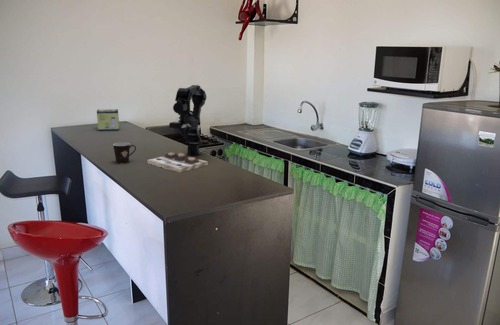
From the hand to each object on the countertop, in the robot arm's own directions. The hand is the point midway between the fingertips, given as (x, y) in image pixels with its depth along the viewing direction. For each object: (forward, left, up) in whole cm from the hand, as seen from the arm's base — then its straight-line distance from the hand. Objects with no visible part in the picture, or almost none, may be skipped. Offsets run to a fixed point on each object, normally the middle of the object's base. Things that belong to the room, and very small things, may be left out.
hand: (185, 139), depth 214 cm
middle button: (+7, +4, -9) cm, 12 cm away
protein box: (-23, -111, -12) cm, 114 cm away
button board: (+10, +4, -12) cm, 16 cm away
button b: (+7, +12, -10) cm, 17 cm away
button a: (+7, -4, -10) cm, 13 cm away
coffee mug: (+26, -20, -12) cm, 35 cm away
